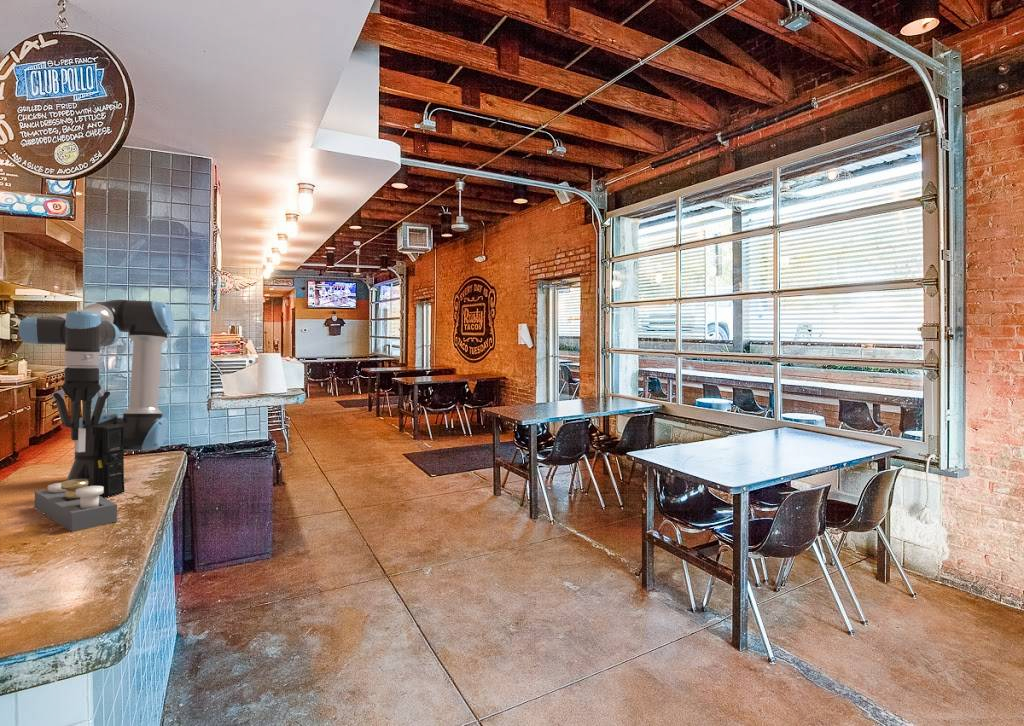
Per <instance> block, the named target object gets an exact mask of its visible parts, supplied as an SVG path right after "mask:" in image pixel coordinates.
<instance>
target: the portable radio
mask: <svg viewBox="0 0 1024 726" xmlns="http://www.w3.org/2000/svg"><path fill="white" fill-rule="evenodd" d="M93 435H94V455H93V457H94V485H92V486H103V487H104V493H103V494H101V495H99V496H101V497H107V498H109V497H108V496H110V497H113V496H112V495H114V496H116V495H115V494H117V495H119V494H118V493H121V494H123V493H122V492H124V493H125V469H124V468H125V465H124V463H125V462H124V461H125V456H124V425H123V424H117V422H116V417H115V422H114V424H108V425H101V426H94V427H93Z"/></svg>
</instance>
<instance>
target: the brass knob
mask: <svg viewBox="0 0 1024 726" xmlns="http://www.w3.org/2000/svg"><path fill="white" fill-rule="evenodd" d="M60 483H61V489H65V490H66V501H72V500H78V499H80V497H76V489H78V488H82V487H87V486H88V479H72V480H68V479H66V480H63V481H62V482H60Z"/></svg>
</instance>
